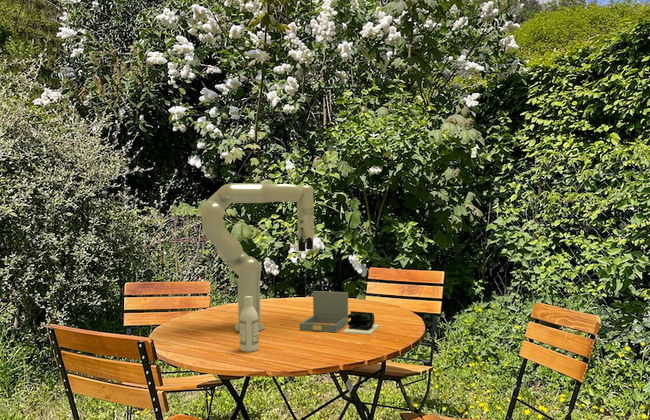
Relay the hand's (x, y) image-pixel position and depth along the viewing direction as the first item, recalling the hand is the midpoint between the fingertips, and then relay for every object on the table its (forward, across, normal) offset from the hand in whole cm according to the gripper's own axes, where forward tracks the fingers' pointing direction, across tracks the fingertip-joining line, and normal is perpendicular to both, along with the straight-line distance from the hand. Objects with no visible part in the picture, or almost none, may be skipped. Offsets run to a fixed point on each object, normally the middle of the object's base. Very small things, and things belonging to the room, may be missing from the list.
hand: (305, 250), depth 247 cm
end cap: (+33, -5, -27) cm, 43 cm away
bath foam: (+34, -48, +5) cm, 59 cm away
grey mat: (+33, -5, -27) cm, 43 cm away
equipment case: (+33, -5, -10) cm, 35 cm away
